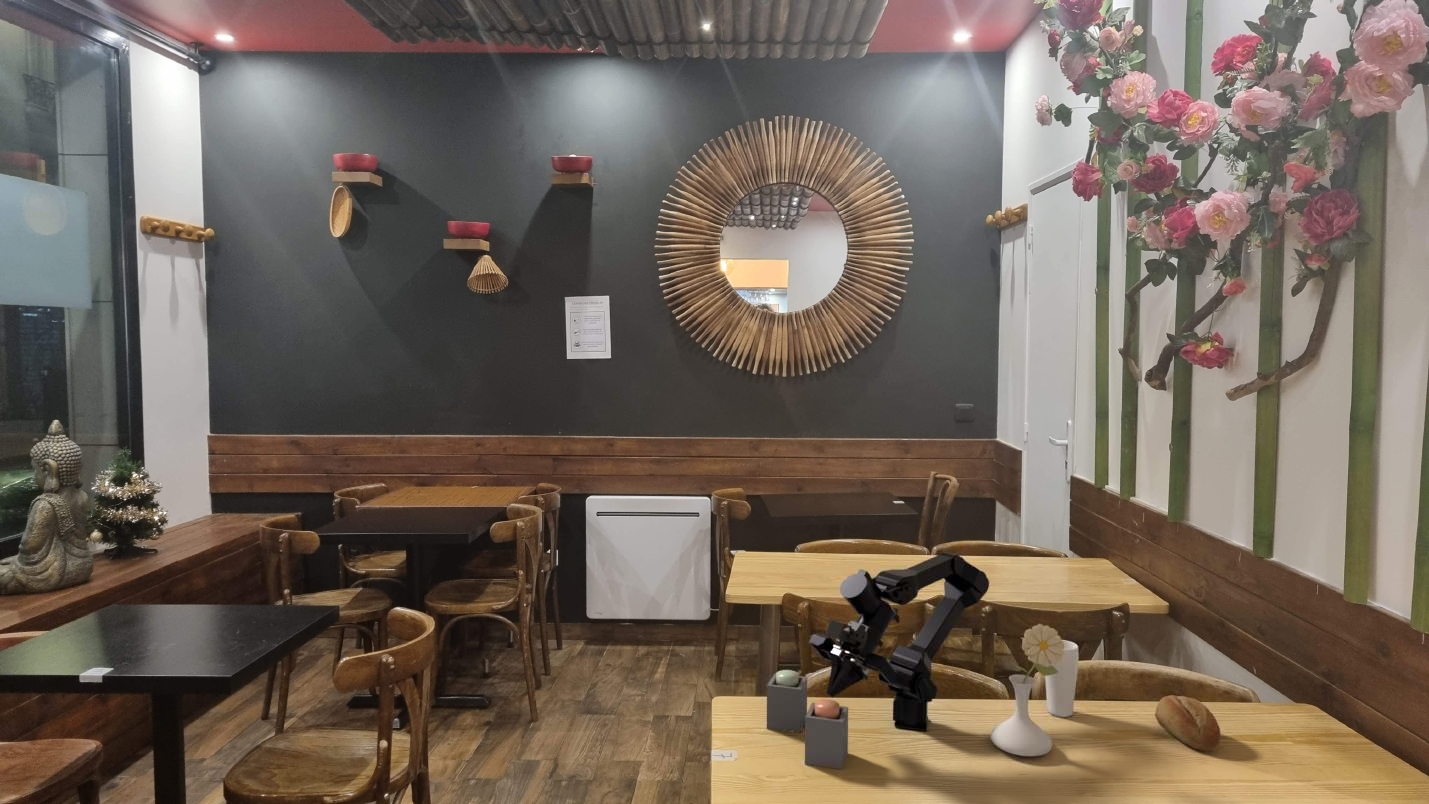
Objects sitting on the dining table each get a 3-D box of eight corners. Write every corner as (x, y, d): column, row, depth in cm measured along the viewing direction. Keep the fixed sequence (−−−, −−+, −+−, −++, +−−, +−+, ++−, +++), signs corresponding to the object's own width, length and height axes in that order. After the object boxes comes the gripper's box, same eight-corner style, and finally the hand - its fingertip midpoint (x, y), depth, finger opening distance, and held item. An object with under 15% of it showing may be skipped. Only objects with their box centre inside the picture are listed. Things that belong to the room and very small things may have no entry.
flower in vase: (989, 756, 160) (991, 627, 158) (991, 731, 170) (993, 610, 169) (1063, 768, 155) (1066, 636, 154) (1060, 742, 166) (1063, 618, 165)
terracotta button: (840, 713, 160) (841, 700, 160) (837, 723, 156) (837, 710, 155) (817, 710, 161) (817, 697, 161) (812, 720, 157) (812, 707, 157)
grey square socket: (806, 718, 176) (807, 677, 176) (800, 733, 169) (800, 689, 169) (774, 714, 178) (774, 673, 178) (766, 728, 172) (766, 685, 171)
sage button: (800, 683, 175) (800, 671, 175) (795, 691, 171) (796, 679, 170) (778, 680, 176) (779, 668, 176) (773, 688, 172) (774, 676, 172)
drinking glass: (1080, 721, 176) (1082, 650, 175) (1046, 718, 177) (1047, 648, 176) (1073, 707, 182) (1074, 640, 181) (1040, 705, 183) (1041, 638, 183)
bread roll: (1185, 756, 160) (1186, 716, 160) (1141, 722, 175) (1142, 685, 175) (1233, 755, 161) (1235, 715, 160) (1185, 721, 176) (1187, 684, 175)
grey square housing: (847, 752, 161) (848, 706, 161) (842, 769, 154) (842, 722, 154) (811, 747, 163) (812, 702, 163) (804, 764, 157) (805, 717, 156)
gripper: (816, 592, 168) (774, 658, 162) (888, 615, 154) (845, 688, 147) (842, 624, 174) (803, 688, 167) (914, 649, 159) (874, 721, 153)
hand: (829, 695), depth 159 cm, fingers closed
